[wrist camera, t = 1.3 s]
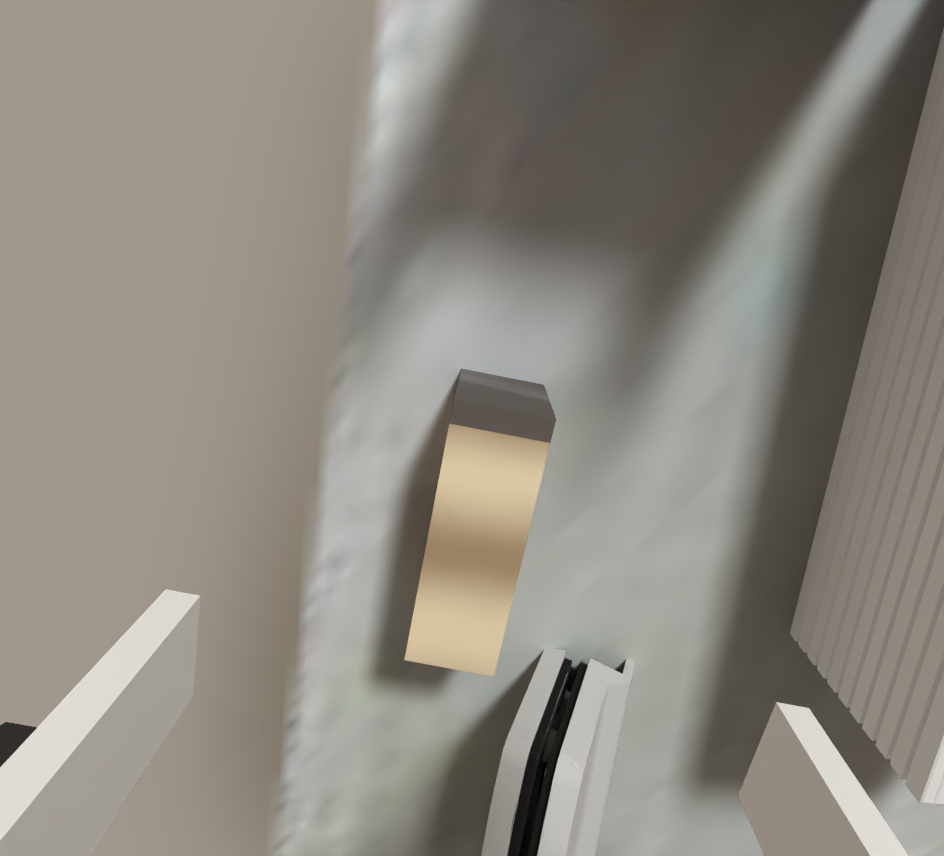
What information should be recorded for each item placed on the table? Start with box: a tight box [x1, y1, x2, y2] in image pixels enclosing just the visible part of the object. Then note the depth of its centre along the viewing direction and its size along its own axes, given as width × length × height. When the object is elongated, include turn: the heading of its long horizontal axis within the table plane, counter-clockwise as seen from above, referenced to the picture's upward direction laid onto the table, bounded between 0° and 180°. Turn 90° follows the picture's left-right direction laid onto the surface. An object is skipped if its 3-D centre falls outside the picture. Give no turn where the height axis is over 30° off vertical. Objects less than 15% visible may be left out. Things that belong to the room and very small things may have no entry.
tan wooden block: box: [404, 369, 556, 677], centre depth 29 cm, size 12×4×6 cm, turn 169°
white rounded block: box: [481, 649, 635, 856], centre depth 33 cm, size 17×5×10 cm, turn 174°
